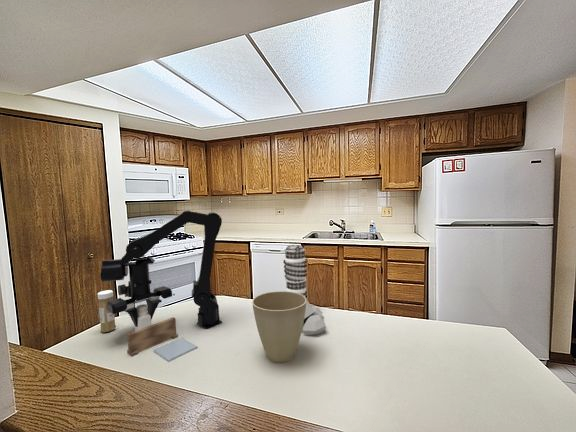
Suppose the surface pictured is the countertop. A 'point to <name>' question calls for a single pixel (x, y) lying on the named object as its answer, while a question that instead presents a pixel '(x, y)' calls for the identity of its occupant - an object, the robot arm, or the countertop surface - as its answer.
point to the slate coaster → (175, 349)
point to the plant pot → (279, 322)
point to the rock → (313, 321)
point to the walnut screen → (151, 336)
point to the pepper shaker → (143, 317)
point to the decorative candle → (295, 269)
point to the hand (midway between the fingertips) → (143, 324)
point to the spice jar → (105, 316)
